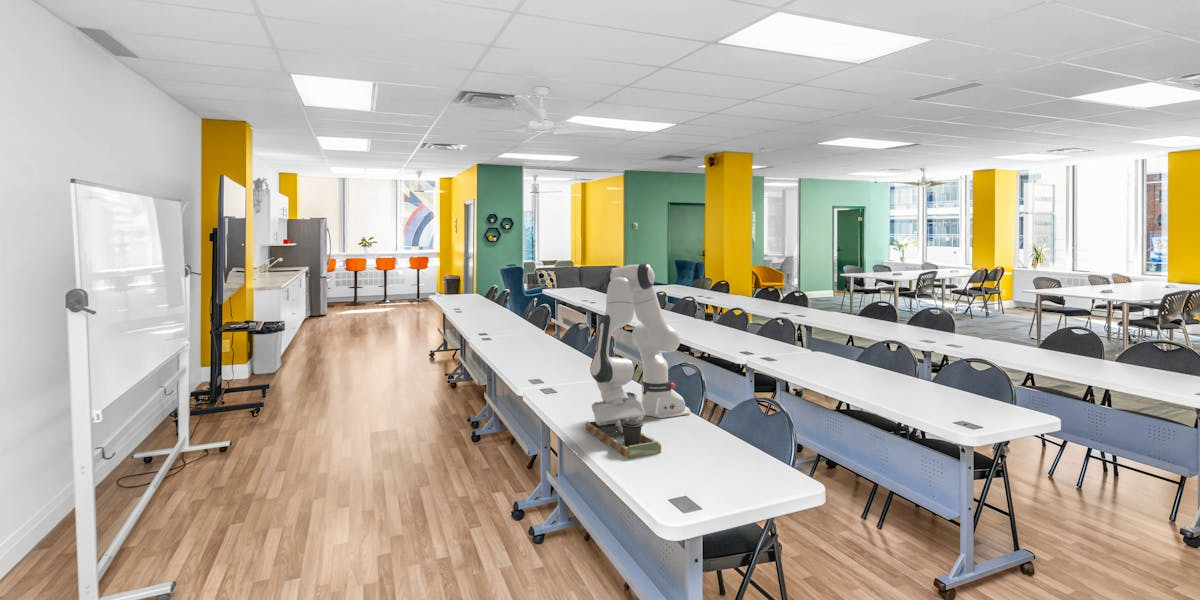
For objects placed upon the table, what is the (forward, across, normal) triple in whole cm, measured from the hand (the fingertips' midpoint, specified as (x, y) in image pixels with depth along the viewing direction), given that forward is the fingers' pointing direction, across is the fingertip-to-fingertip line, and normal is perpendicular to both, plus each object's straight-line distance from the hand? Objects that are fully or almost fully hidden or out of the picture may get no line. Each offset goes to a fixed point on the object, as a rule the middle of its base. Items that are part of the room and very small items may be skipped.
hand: (625, 431), depth 239 cm
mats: (-7, 0, +14) cm, 15 cm away
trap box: (0, 0, +7) cm, 7 cm away
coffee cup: (+7, 0, 0) cm, 7 cm away
